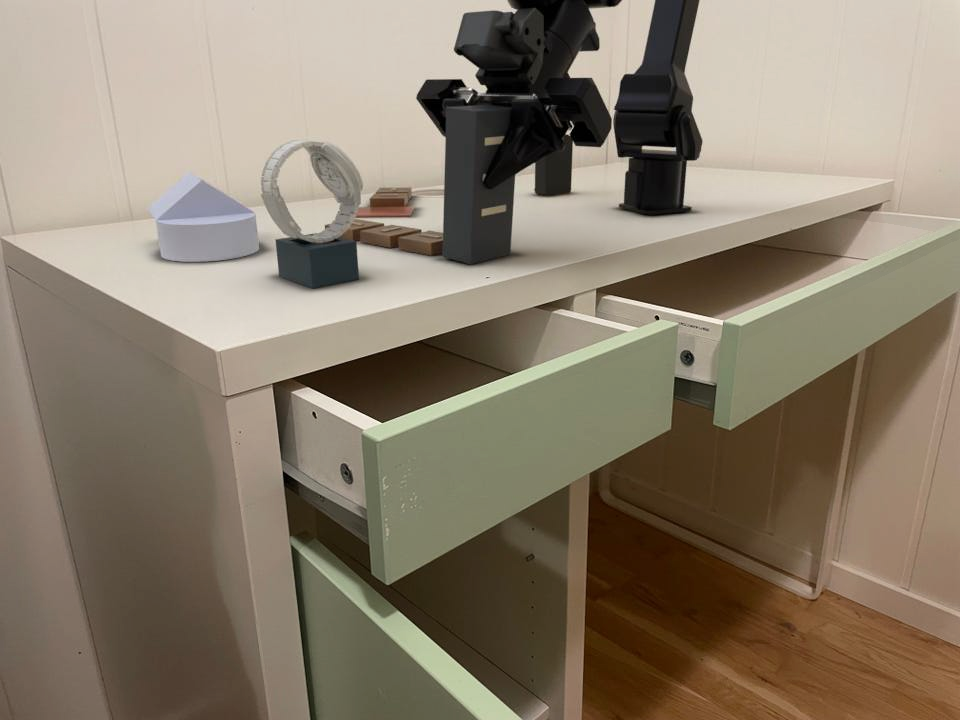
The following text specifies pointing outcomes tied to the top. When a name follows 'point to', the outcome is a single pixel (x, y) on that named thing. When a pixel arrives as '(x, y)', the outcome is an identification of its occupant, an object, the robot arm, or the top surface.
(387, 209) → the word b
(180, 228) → the wedge on round base
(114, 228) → the top surface
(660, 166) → the robot arm
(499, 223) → the striped dark tower
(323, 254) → the watch
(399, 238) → the segmented wooden bar
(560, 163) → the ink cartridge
